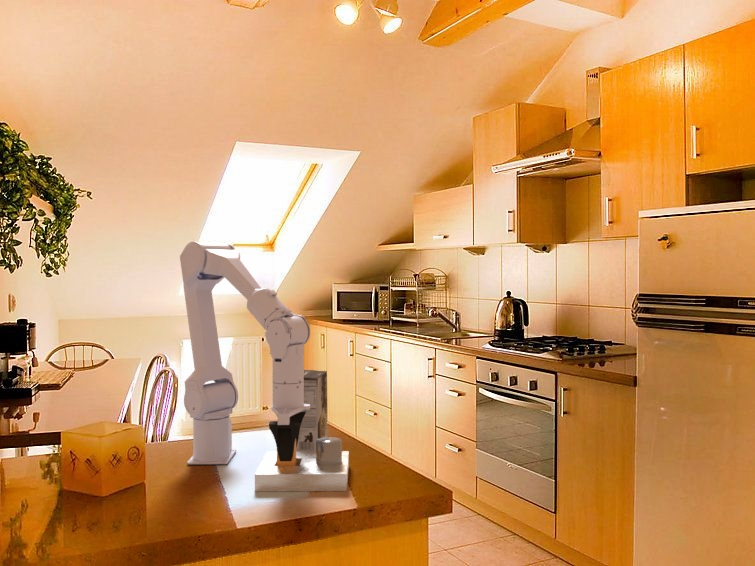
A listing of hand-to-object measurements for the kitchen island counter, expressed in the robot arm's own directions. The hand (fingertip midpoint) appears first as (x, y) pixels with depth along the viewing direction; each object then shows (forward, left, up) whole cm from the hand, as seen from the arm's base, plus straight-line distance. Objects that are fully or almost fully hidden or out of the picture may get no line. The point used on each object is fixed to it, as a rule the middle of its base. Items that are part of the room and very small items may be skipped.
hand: (288, 454), depth 119 cm
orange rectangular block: (0, 0, -4) cm, 4 cm away
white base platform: (0, +3, -4) cm, 5 cm away
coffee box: (-21, +2, -5) cm, 22 cm away
